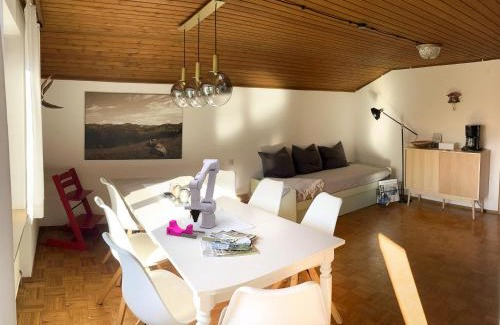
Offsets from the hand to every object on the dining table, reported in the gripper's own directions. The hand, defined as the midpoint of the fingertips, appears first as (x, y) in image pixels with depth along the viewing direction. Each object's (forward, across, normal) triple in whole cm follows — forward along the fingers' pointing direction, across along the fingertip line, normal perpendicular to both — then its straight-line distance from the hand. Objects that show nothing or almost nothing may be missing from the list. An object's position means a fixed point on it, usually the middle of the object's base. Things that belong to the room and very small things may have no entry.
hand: (195, 222), depth 234 cm
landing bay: (+9, +14, 0) cm, 16 cm away
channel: (+9, -2, 0) cm, 9 cm away
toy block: (+9, -10, -3) cm, 13 cm away
